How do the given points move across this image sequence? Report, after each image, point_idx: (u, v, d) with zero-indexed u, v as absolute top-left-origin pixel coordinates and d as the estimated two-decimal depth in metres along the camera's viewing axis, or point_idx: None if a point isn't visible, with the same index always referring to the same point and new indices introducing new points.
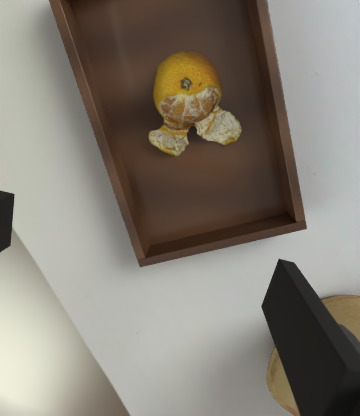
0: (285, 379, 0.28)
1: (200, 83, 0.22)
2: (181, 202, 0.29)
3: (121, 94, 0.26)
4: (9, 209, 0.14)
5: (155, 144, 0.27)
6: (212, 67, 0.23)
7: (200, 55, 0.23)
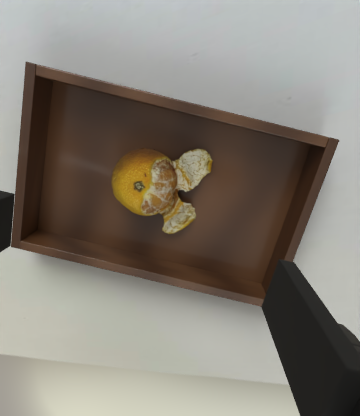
0: None
1: (144, 173, 0.23)
2: (239, 235, 0.28)
3: (122, 232, 0.29)
4: (9, 209, 0.14)
5: (175, 231, 0.27)
6: (138, 154, 0.24)
7: (123, 159, 0.24)
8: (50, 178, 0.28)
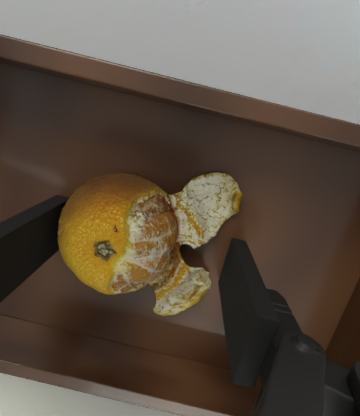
0: None
1: (114, 227, 0.12)
2: None
3: (76, 306, 0.17)
4: None
5: (176, 312, 0.16)
6: (102, 188, 0.12)
7: (76, 195, 0.13)
8: None
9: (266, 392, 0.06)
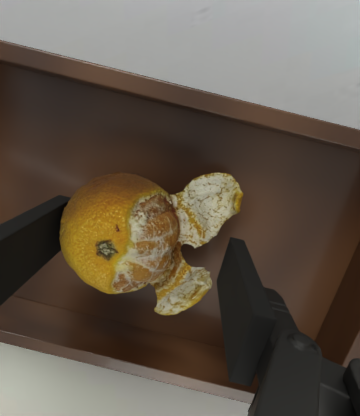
0: None
1: (116, 227, 0.12)
2: None
3: (91, 291, 0.19)
4: None
5: (177, 311, 0.16)
6: (104, 187, 0.12)
7: (78, 195, 0.13)
8: None
9: (262, 390, 0.06)
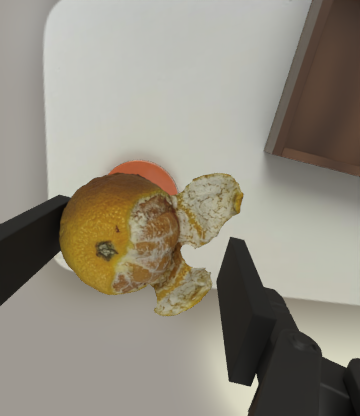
0: None
1: (116, 227, 0.12)
2: None
3: None
4: None
5: (177, 312, 0.16)
6: (104, 188, 0.12)
7: (78, 195, 0.13)
8: None
9: (262, 390, 0.06)
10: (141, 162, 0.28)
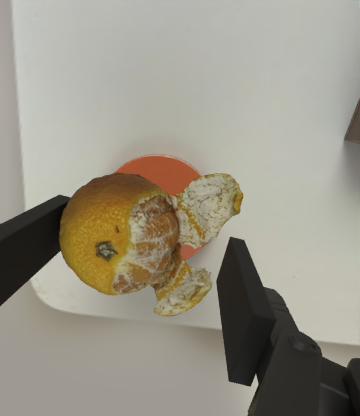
0: None
1: (116, 228, 0.12)
2: None
3: None
4: None
5: (177, 312, 0.16)
6: (104, 188, 0.12)
7: (78, 196, 0.13)
8: None
9: (262, 390, 0.06)
10: (161, 157, 0.19)
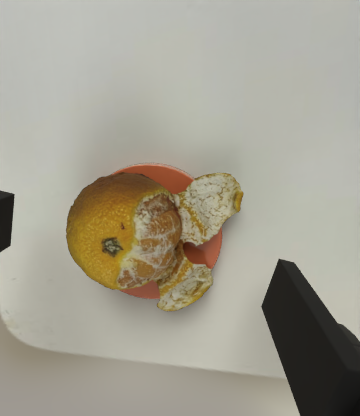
0: None
1: (121, 224, 0.12)
2: None
3: None
4: (9, 209, 0.14)
5: (179, 307, 0.16)
6: (110, 187, 0.13)
7: (85, 194, 0.13)
8: None
9: None
10: (155, 167, 0.15)
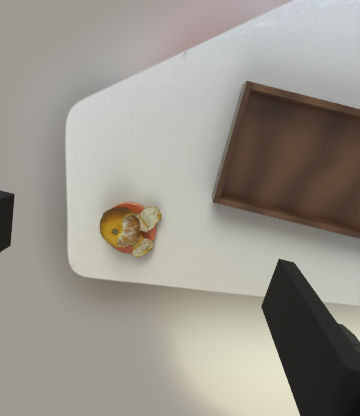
0: None
1: (118, 224, 0.40)
2: None
3: (278, 195, 0.42)
4: (9, 209, 0.14)
5: (140, 255, 0.44)
6: (114, 212, 0.41)
7: (106, 214, 0.41)
8: (233, 157, 0.41)
9: None
10: (130, 204, 0.43)
